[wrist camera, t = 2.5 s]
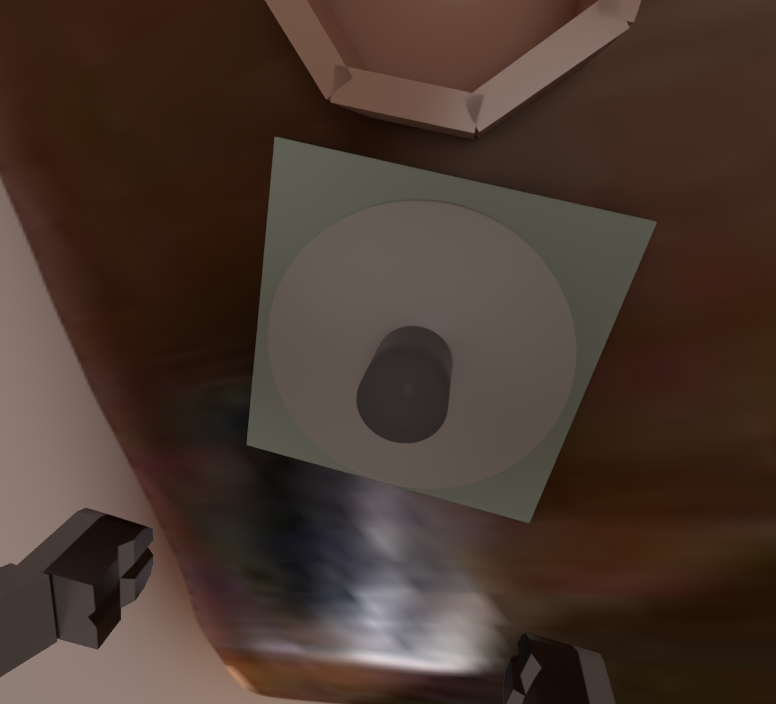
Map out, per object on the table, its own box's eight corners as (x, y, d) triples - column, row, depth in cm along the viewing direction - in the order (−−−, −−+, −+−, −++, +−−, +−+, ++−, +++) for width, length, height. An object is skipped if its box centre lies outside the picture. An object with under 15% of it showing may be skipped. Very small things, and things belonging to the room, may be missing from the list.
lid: (620, 240, 19) (669, 266, 14) (517, 503, 25) (527, 585, 20) (293, 167, 20) (238, 169, 16) (265, 435, 26) (218, 497, 21)
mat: (651, 220, 19) (657, 222, 19) (528, 515, 26) (529, 523, 25) (280, 137, 20) (274, 136, 20) (251, 439, 27) (246, 444, 26)
